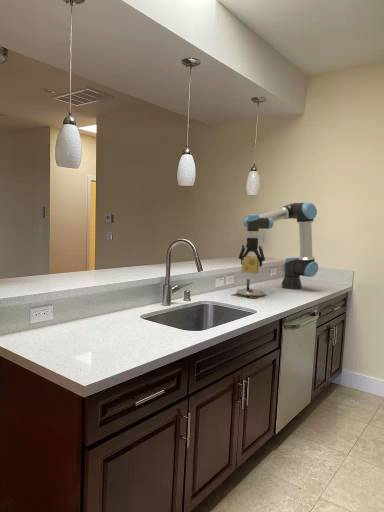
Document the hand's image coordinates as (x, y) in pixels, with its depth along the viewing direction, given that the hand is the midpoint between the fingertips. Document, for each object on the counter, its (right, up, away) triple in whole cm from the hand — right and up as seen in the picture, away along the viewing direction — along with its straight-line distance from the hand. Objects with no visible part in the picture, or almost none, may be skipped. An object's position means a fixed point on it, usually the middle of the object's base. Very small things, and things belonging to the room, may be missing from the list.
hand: (251, 270), depth 258 cm
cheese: (0, -1, 0) cm, 1 cm away
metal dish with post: (0, -17, +6) cm, 18 cm away
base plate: (0, -17, +5) cm, 18 cm away
